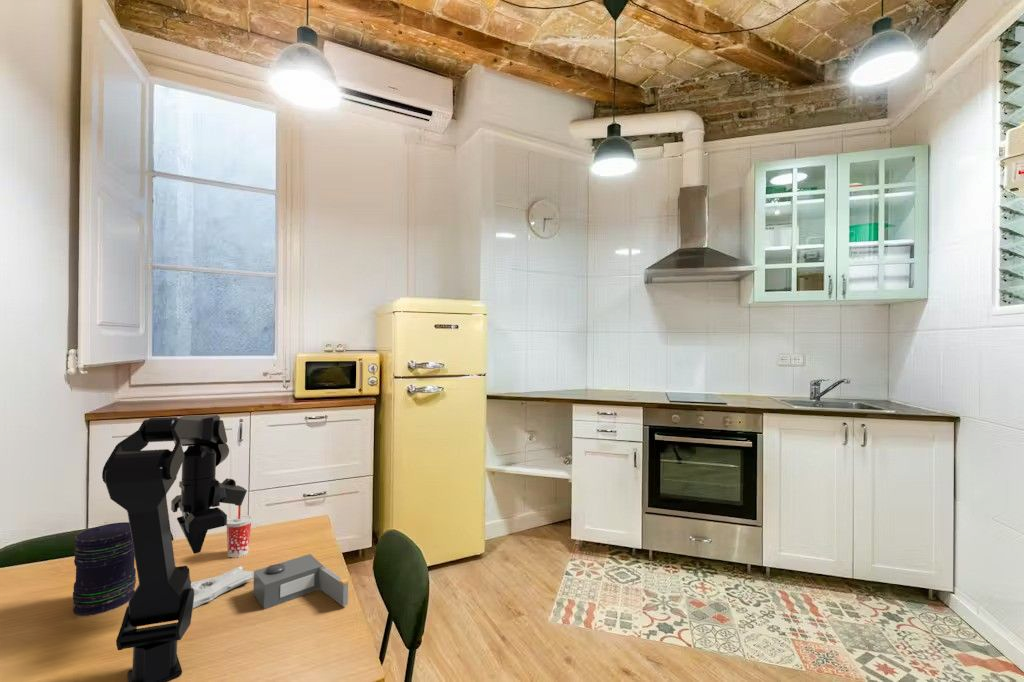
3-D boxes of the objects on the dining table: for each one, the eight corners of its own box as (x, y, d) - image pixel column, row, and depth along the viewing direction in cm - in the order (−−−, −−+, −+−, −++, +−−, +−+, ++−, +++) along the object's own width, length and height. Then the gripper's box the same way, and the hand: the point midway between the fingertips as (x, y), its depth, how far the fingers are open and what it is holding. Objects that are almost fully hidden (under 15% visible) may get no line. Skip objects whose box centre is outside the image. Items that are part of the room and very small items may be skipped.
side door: (323, 585, 100) (323, 564, 100) (348, 604, 93) (348, 580, 93) (318, 588, 99) (318, 566, 99) (342, 606, 92) (343, 582, 92)
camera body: (323, 588, 100) (323, 563, 100) (264, 609, 91) (265, 582, 91) (309, 574, 105) (310, 551, 105) (253, 593, 97) (254, 568, 97)
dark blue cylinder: (146, 593, 97) (149, 525, 97) (94, 619, 87) (96, 543, 88) (114, 586, 99) (116, 519, 100) (59, 611, 90) (62, 537, 90)
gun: (233, 557, 107) (257, 568, 102) (234, 571, 107) (257, 583, 102) (141, 597, 91) (163, 612, 86) (142, 613, 91) (164, 630, 86)
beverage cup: (256, 552, 117) (257, 499, 117) (231, 561, 112) (233, 506, 112) (244, 546, 120) (245, 495, 120) (219, 555, 115) (221, 501, 115)
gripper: (256, 477, 90) (254, 554, 90) (231, 461, 103) (229, 528, 103) (190, 489, 82) (188, 574, 82) (171, 470, 95) (169, 543, 95)
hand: (196, 552), depth 90 cm, fingers closed
